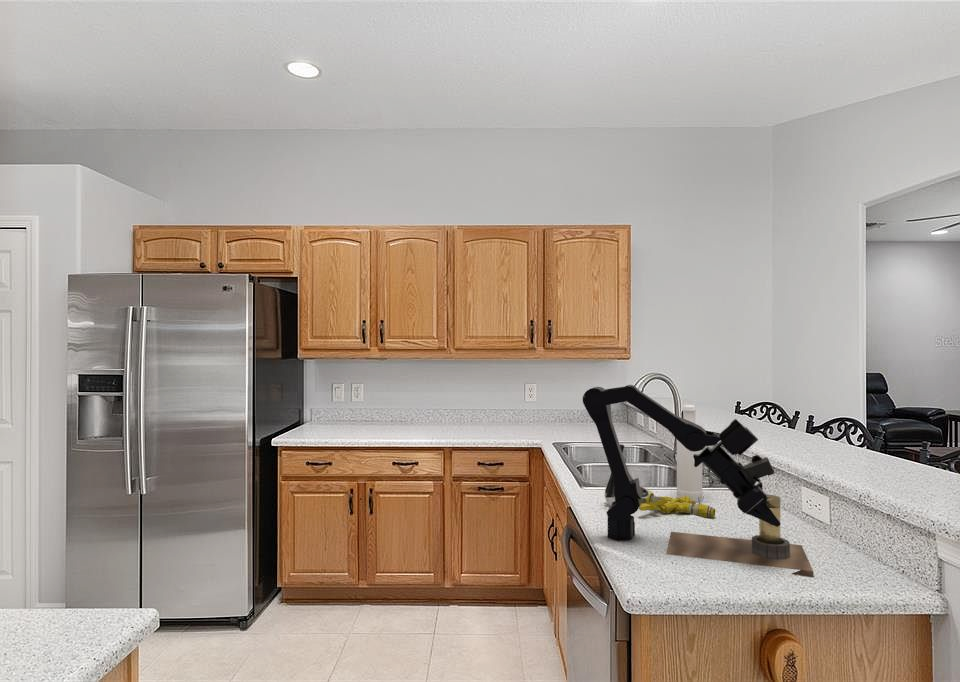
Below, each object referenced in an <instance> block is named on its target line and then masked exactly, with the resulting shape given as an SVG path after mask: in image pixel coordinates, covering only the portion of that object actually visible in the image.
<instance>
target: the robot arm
mask: <svg viewBox="0 0 960 682" xmlns="http://www.w3.org/2000/svg"><path fill="white" fill-rule="evenodd" d="M626 402H627V403H629V404H630V405H632V406H633V407H635V408H636V409H637V410H639V411H641V412H642V413H644V414H645V415H647V417H649V418H651V419H652V420H654V421H655V422H656V423H658V424H659V425H661V426H662V427H664V428H665V429H666V430H668V431H669V432H670V433H671V435H672V436H673V437H674V438H675V439H676V441H677V440H678V441H679V442H680V443H681V444H682V445H683V446H684V447H685V448H686V449H688V450H690V451H693V452H695V451H700V450H702V452H701V453H700V454H694V455H693V457H694V466H695V467H697V466H699V465H700V464H701V463H702V465H703V464H704V466H705V468H707V469H708V470H709V471H711V473H712V474H713V475H714V476H715V477H716V478H717V479H718V480H719V483H721V485H724V486H725V487H726V488H728V490H729V491H730V492H731V494H732V496H733V497H734V498H735V499H736V504H737V508H738V509H739V510H740V511H741V512H742V513H743V514H746V515H749V516H752V517H754V518H756V519H761V520H763V521H765V522H767V523H769V524H772V525H774V526H776V527H778V526H779V525H780V526H781V524H782V523H781V521H780V522H779V520H778V519H777V518H776V516H775V515H774V513H773V512H772V511H771V509H770V508H769V507H768V505H767V496H766V495H767V494H766V493H765V491H764V489H763V482H762V481H761V478H764V477H767V476H772V475H774V474H776V473H775V469H774V468H773V466H772V464H771V462H770V460H769V458H768V457H763V458H762V457H761V456H760V455H759V454H755V455H752V456H751V462H748V463H747V464H745V465H743V464H742V463H741V462H738V461H736V460H735V459H734V458H733V457H732V456H734V455H735V456H736V455H738V456H742V455H743V454H744V453H745V452H746V451H747V450H749V449H750V448H751V447H752V446H754V444H756V443H757V442H758V441H759V439H758V437H757V436H756V435H755V434H754V433H753V432H752V431H751V430H750V429H749V428H748V427H747V426H745V425H743V424H742V422H740V421H739V420H738V419H737V418H734V419H733V420H732V421H731V422H730V423H729V425H727V426H726V427H725V428H724V429H723V430H722V431H721V432H717V431H710V430H706V429H705V428H704V427H703V426H701V425H699V424H697V423H696V422H695V423H693V422H691V421H688V420H686V419H684V417H680V416H678V415H676V414H674V413H673V412H671V411H670V410H668V408H666V407H664V406H663V405H662V404H661V403H659V402H658V401H655V400H654V399H653V398H651V397H650V396H648V395H647V394H645V393H644V392H642V391H641V390H640V389H638V387H637V386H635V385H634V384H627V385H625V386H620V387H619V386H618V387H611V388H606V389H605V388H604V387H602V386H593V387H591V388H589V389H587V390H585V392H584V394H583V396H582V403H583V406H584V407H585V410H586V411H587V414H588V415H589V417H590V418H591V419H592V421H593V422H594V424H595V426H596V429H597V432H598V436H599V439H600V442H601V444H602V448H603V451H604V454H605V457H606V460H607V463H608V466H609V469H610V474H611V473H612V476H613V483H614V496H615V501H614V502H613V503H612V504H611V506H610V505H609V507H608V509H607V511H606V515H607V539H611V540H613V541H615V542H619V541H621V542H623V541H624V542H628V541H631V540H633V538H634V537H635V536H636V528H635V527H636V524H635V516H634V515H633V514H636V513H637V512H638V510H639V507H640V504H641V502H642V495H643V493H644V492H643V491H642V490H641V488H640V486H641V484H640V479H639V477H637V478H633V477H632V476H631V474H630V472H629V470H628V465H627V463H626V460H625V457H624V454H623V453H622V451H621V447H620V442H619V438H618V436H617V432H616V428H615V425H614V423H613V420H612V406H611V405H615V404H619V403H626ZM710 446H713V447H712V448H710ZM722 446H723V447H724V449H725V450H724V449H723V448H722ZM726 450H727V452H726ZM728 453H729V454H730V455H729V454H728ZM756 483H757V484H756Z"/></svg>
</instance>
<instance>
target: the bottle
mask: <svg viewBox="0 0 960 682" xmlns="http://www.w3.org/2000/svg"><path fill="white" fill-rule="evenodd" d="M696 410H697V409H696V406H695V405H694V404H685V405H683V409H682V411H683V414H682V415H683V419H686V420H688V421H691V422H693V423H695V424H696ZM702 451H703V449H702V450H700V451H695V452H693V451H690V450H688V449H686V448H685V447H684V446H683V445H682V444H681V443H680V442H679V441H678V440H677V439H676V497H681V498H682V497H685V496H689V497H690V500H693V501H695V502H696V503H699V500H698V497H699V498H700V499H701V500H700V502H701V501H703V495H704V493H703V463H701V464H700V465H699V466H697V467H695V466H694V457H693V455H694V454H700V453H701V452H702Z"/></svg>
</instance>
